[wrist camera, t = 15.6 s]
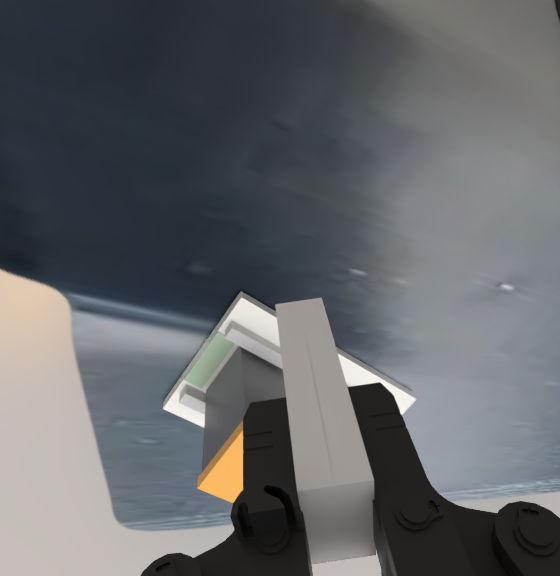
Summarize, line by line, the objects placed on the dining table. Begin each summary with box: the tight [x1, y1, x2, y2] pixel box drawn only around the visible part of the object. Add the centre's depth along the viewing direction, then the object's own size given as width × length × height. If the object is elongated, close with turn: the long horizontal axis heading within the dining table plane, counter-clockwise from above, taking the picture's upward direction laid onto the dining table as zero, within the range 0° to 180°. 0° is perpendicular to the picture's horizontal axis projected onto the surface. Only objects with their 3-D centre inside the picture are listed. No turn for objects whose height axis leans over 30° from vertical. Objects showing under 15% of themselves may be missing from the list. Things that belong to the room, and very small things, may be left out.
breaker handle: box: [197, 346, 286, 503], centre depth 37 cm, size 5×6×12 cm
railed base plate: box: [163, 291, 416, 427], centre depth 45 cm, size 22×14×3 cm, turn 55°
